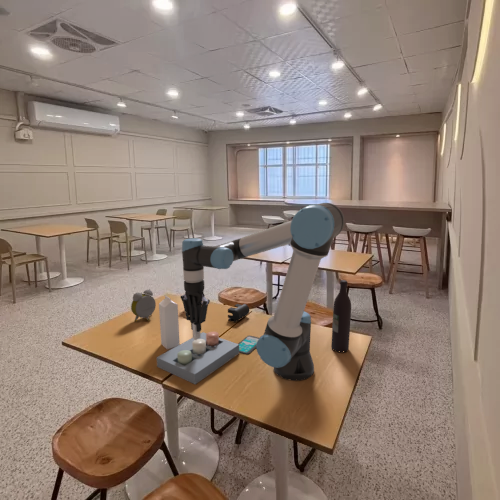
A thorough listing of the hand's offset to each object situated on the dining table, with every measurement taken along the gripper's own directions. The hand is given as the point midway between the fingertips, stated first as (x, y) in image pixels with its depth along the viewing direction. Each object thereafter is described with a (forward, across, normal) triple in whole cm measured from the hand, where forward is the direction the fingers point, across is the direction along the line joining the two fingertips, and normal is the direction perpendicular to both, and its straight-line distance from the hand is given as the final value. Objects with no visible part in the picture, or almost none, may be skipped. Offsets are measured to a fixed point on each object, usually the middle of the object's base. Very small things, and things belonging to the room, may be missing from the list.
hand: (196, 338), depth 131 cm
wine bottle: (+11, -44, -40) cm, 60 cm away
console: (+10, 0, -2) cm, 10 cm away
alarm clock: (+10, +50, -16) cm, 54 cm away
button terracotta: (+6, 0, -10) cm, 12 cm away
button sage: (+8, +1, +6) cm, 10 cm away
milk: (+10, +19, -4) cm, 22 cm away
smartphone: (+11, -9, -22) cm, 26 cm away
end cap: (+10, +10, -43) cm, 45 cm away
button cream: (+6, 0, -2) cm, 7 cm away
